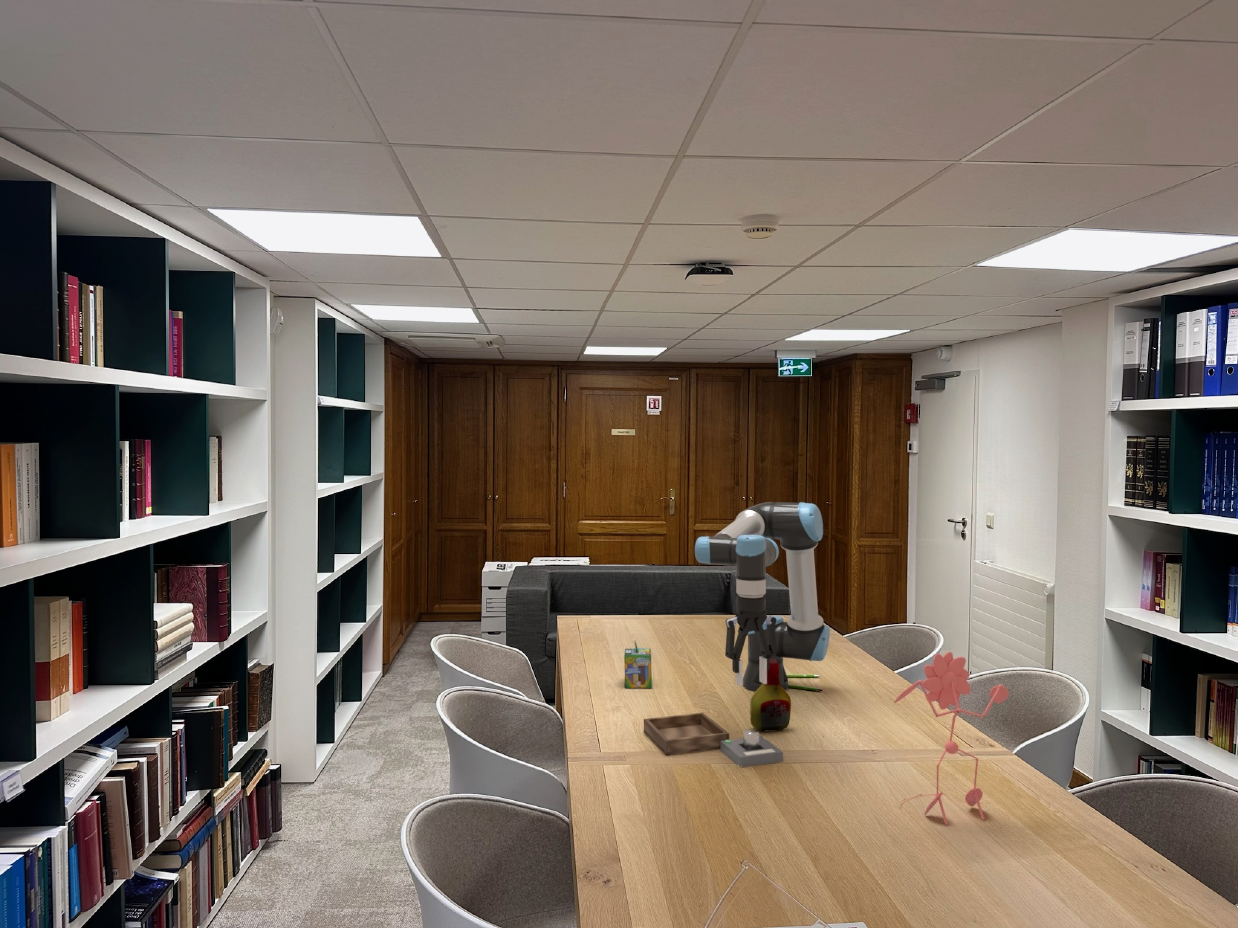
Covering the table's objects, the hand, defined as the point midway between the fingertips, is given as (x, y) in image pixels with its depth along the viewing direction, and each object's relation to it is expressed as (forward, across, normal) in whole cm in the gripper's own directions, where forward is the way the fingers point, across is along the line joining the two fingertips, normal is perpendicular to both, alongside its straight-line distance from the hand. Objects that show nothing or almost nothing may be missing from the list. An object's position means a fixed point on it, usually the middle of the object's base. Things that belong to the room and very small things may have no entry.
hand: (751, 683), depth 210 cm
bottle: (+19, -14, -16) cm, 29 cm away
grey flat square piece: (+19, 0, 0) cm, 19 cm away
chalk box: (+19, +8, -69) cm, 72 cm away
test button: (+17, 0, 0) cm, 17 cm away
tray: (+19, +12, -16) cm, 28 cm away
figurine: (+19, -27, +41) cm, 53 cm away
